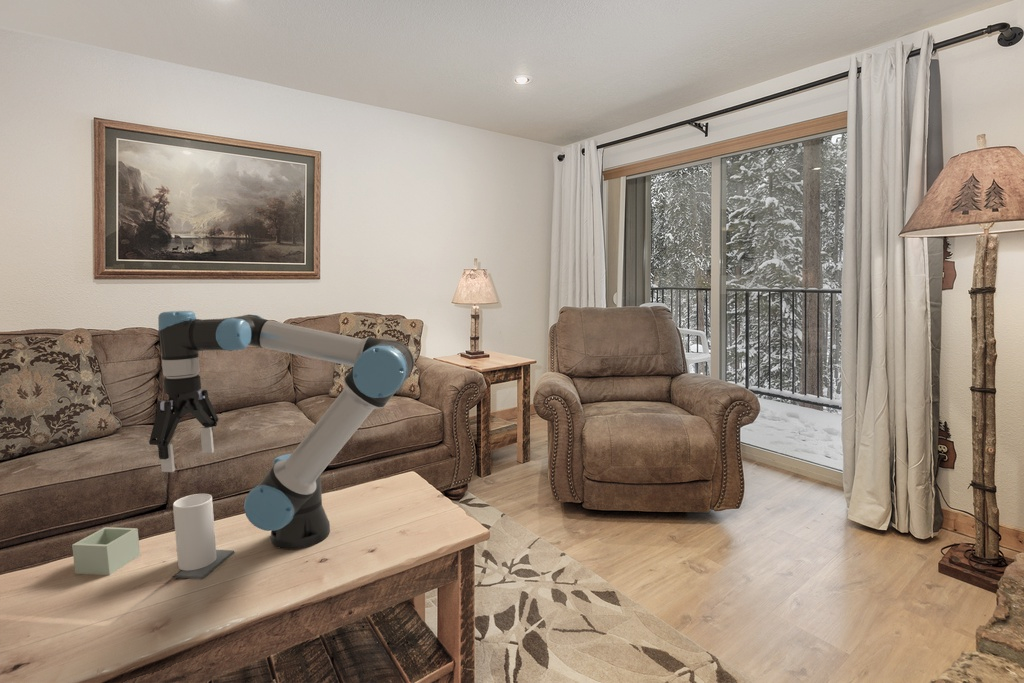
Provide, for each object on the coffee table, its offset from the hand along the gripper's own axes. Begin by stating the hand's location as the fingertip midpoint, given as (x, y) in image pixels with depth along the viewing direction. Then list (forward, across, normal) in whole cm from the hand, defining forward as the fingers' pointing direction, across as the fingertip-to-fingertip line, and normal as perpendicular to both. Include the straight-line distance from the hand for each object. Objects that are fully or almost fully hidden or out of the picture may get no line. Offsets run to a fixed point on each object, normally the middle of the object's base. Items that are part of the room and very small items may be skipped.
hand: (189, 461), depth 126 cm
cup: (+26, 0, 0) cm, 26 cm away
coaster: (+26, 0, 0) cm, 27 cm away
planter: (+26, +3, -21) cm, 34 cm away
